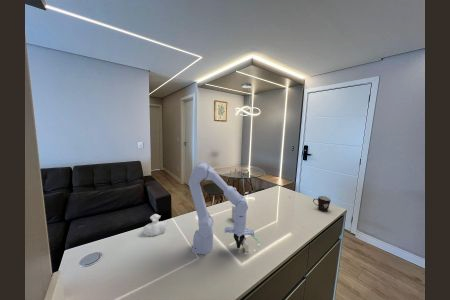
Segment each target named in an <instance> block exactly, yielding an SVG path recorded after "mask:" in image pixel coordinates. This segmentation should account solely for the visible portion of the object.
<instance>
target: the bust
mask: <svg viewBox="0 0 450 300" xmlns="http://www.w3.org/2000/svg"><path fill="white" fill-rule="evenodd" d="M161 216H162V215H159V214H157V213H154V214H152V215H151V216H150V217H149V219H150V220H151V221H152V222H151V223H148V224H146V225H144V227H143V232H144V235H145V236H148V237H153V236H160V235H161V234H163V233H165V232H166V230H167V225H168V224H167V223H166V222H163V221H159V219H161Z"/></svg>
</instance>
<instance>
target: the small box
mask: <svg viewBox="0 0 450 300" xmlns="http://www.w3.org/2000/svg"><path fill="white" fill-rule="evenodd" d="M234 216H235V205H233V204H232V206H231V220H232V221H233V222H234Z"/></svg>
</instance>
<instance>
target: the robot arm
mask: <svg viewBox="0 0 450 300" xmlns="http://www.w3.org/2000/svg"><path fill="white" fill-rule="evenodd" d="M204 179H205V181H212V182H213V183H214V184H215V185H217V187H219V189H221V190H222V191H223V196H224V197H225V198H226V199H227V200H228V201H229V202H230V203H231V204H232V206H233V205H235V216H234V221H233V226H225V227H224V234H227V233H232V234H233V239H234V241H235V243H236V244H235V245H236V248H237V249H240V248H241V243H242V241H243V240H244V238H246V235H247V236H251V237H253V236H254V235H255V230H252V229H250V228H246V226H247V225H246V224H247V211H248V209H249V207H248V202H247V199H246V196H244V195H242V194H240V193H239V191H237V188H236V187H233V185H228V183H226V181H225V180H224V179H223V178H222V177H221V176H220V175H219V174H218V172H217V171H216V170H215V169H214V168H213V167H212V166H211V165H209V163H208V162H206V161H199V162H198V163H197V164H196V166H195V167H194V169H193V170H192V171H191V173H190V177H189V180H188V187H189V191H190V193H191V198H192V201H193V205H194V206H195V211H196V214H197V222H198V223H197V224H198V225H197V226H198V230H195V232H194V234H193V240H192V246H193V247H192V253H194V254H197V255H198V254H199V255H205V256H206V255H207V254H209V253H211V252H212V251H213V247H214V229H213V224H214V219H213V217H212V216H211V215H210V212H209V211H208V208H207V205H206V201H205V197H204V193H203V190H202V187H201V182H202V181H203V180H204Z"/></svg>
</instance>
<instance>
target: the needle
mask: <svg viewBox="0 0 450 300" xmlns="http://www.w3.org/2000/svg"><path fill="white" fill-rule="evenodd" d="M241 244H242V247H243V250H244V252H248V253H249V249H250V248H249V247H250V244H249V243H248V240H247V237H245V238H244V240H243V241H242V243H241Z"/></svg>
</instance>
